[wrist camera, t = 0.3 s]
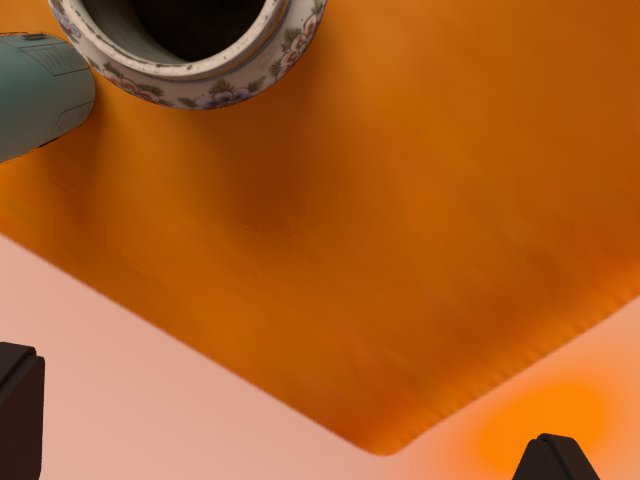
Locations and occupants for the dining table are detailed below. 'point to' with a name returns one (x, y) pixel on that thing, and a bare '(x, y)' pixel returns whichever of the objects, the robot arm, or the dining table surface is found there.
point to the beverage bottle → (40, 91)
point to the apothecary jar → (190, 45)
